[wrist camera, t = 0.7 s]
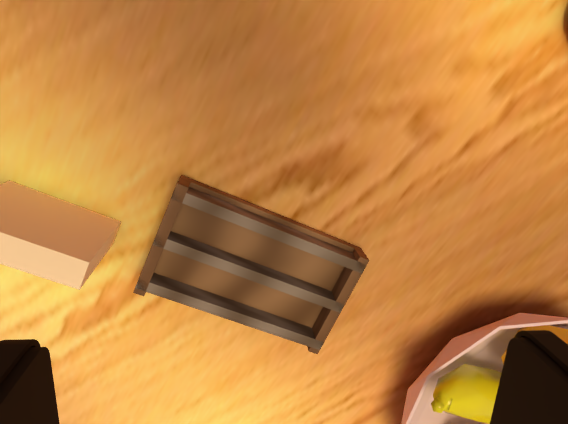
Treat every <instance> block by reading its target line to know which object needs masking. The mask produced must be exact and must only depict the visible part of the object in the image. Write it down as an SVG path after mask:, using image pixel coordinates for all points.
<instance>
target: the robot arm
mask: <svg viewBox="0 0 568 424" xmlns="http://www.w3.org/2000/svg"><path fill="white" fill-rule="evenodd" d="M0 424H59V418H58V410H57V403H56V396H55V389H54V381H53V374H52V367H51V360H50V353H49V350H48V348H46V347H40V344H39V342H38V341H37V340H35V339H31V340H3V341H0ZM490 424H568V344H567V343H565V342H564V341H563V340H562V339H560V338H559V337H558V336H557V335H555V334H554V333H552V332H551V331H547V330H528V331H520V332H518V333H517V334H516V335H515V338H512V339H511V340H510V341H509V344H508V347H507V352H506V356H505V360H504V365H503V369H502V373H501V377H500V382H499V386H498V390H497V395H496V399H495V403H494V407H493V412H492V416H491V420H490Z"/></svg>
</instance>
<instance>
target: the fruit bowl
mask: <svg viewBox="0 0 568 424" xmlns="http://www.w3.org/2000/svg"><path fill="white" fill-rule="evenodd" d="M528 330H547V331H551V332H552V333H554V334H555V335H557V336H558V337H559V338H560V339H562V340H563V341H564V342H565V343H567V344H568V318H567V317H557V316H547V315H538V314H528V313H517V314H515V315H512V316H509V317H507V318H504V319H502V320H499V321H496V322H494V323H491V324H488V325H486V326H483V327H481V328H478V329H475V330H473V331H470V332H467V333H465V334H462V335H460V336H457V337H454V338H452V339H451V340H450V341H449V343H448V344H447V345H446V346H445V347H444V348H443V349H442V351H441V352H440V353H439V354H438V355H437V356H436V357H435V359H434V360H433V361H432V362H431V363H430V364H429V365H428V367H427V368H426V369H425V370H424V371H423V372H422V373H421V375H420V376H419V377H418V378H417V379H416V380H415V381H414V383H413V384H412V385H411V386H410V387H409V388H408V391H407V396H406V401H405V407H404V412H403V417H402V422H401V424H490V420H491V416H492V412H493V407H494V403H495V399H496V395H497V390H498V386H499V382H500V377H501V373H502V369H503V365H504V360H505V356H506V352H507V347H508V344H509V341H510V340H511V339H512V338H515V335H516V334H517V333H518V332H520V331H528Z"/></svg>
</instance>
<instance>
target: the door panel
mask: <svg viewBox="0 0 568 424" xmlns="http://www.w3.org/2000/svg"><path fill="white" fill-rule="evenodd" d="M120 224H121V221H118V220H115V219H113V218H110V217H107V216H104V215H102V214H99V213H96V212H94V211H91V210H88V209H85V208H83V207H80V206H77V205H75V204H72V203H69V202H67V201H64V200H61V199H58V198H56V197H53V196H50V195H48V194H45V193H42V192H39V191H37V190H34V189H31V188H29V187H26V186H23V185H21V184H18V183H15V182H12V181H10V180H9V181H7V182H5V183H3V184H1V185H0V264H2V265H5V266H8V267H12V268H15V269H18V270H21V271H24V272H27V273H30V274H33V275H36V276H39V277H42V278H45V279H48V280H51V281H54V282H57V283H60V284H64V285H67V286H70V287H73V288H76V289H79V290H80V288H81V287H82V286H83V284H84V283H85V281H86V280H87V279H88V277H89V276H90V275H91V273H92V272H93V270H94V269H95V268H96V266H97V265H98V264H99V262H100V261H101V260H102V258H103V257H104V255H105V254H106V253H107V251H108V250H109V249H110V247H111V246H112V244H113V242H114V240H115V237H116V234H117V232H118V229H119V226H120Z"/></svg>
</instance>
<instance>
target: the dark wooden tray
mask: <svg viewBox="0 0 568 424" xmlns="http://www.w3.org/2000/svg"><path fill="white" fill-rule="evenodd" d="M368 262H369V259H368V258H367V256H366V255H365V254H364V252H363V251H362V249H361V248H359V247H357V246H355V245H352V244H350V243H347V242H345V241H342V240H340V239H337V238H335V237H332V236H330V235H328V234H325V233H323V232H320V231H318V230H315V229H313V228H310V227H308V226H305V225H303V224H301V223H298V222H296V221H293V220H291V219H288V218H286V217H283V216H281V215H278V214H276V213H274V212H271V211H269V210H266V209H264V208H261V207H259V206H256V205H254V204H251V203H249V202H246V201H244V200H242V199H239V198H237V197H234V196H232V195H229V194H227V193H224V192H222V191H219V190H217V189H215V188H212V187H210V186H207V185H205V184H202V183H200V182H197V181H195V180H192V179H190V178H188V177H185V176H183V175H181V177H180V179H179V181H178V182H177V185H176V187H175V190H174V192H173V195H172V197H171V200H170V202H169V205H168V207H167V210H166V212H165V215H164V217H163V220H162V222H161V225H160V227H159V230H158V232H157V235H156V237H155V240H154V242H153V245H152V247H151V250H150V252H149V255H148V257H147V260H146V262H145V265H144V267H143V270H142V272H141V275H140V277H139V280H138V282H137V285H136V287H135V290H134V292H133V293H136V294H139V295H142V296H144V295H145V293H146V292H148V293H151V294H154V295H157V296H160V297H163V298H166V299H169V300H172V301H175V302H178V303H181V304H184V305H187V306H190V307H193V308H196V309H199V310H202V311H205V312H208V313H211V314H214V315H217V316H220V317H223V318H226V319H229V320H232V321H235V322H238V323H240V324H243V325H246V326H249V327H252V328H255V329H258V330H261V331H264V332H267V333H270V334H273V335H276V336H279V337H282V338H285V339H288V340H291V341H294V342H297V343H300V344H303V345H306V346H308V350H309V351H310V352H313V353H316V354H318V352H319V350H320V349H321V347H322V345H323V343H324V341H325V340H326V338H327V336H328V334H329V332H330V331H331V329H332V327H333V325H334V323H335V321H336V320H337V318H338V316H339V314H340V312H341V311H342V309H343V307H344V305H345V303H346V302H347V300H348V298H349V296H350V294H351V293H352V291H353V289H354V287H355V285H356V283H357V282H358V280H359V278H360V276H361V274H362V273H363V271H364V269H365V267H366V265H367V264H368Z"/></svg>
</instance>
